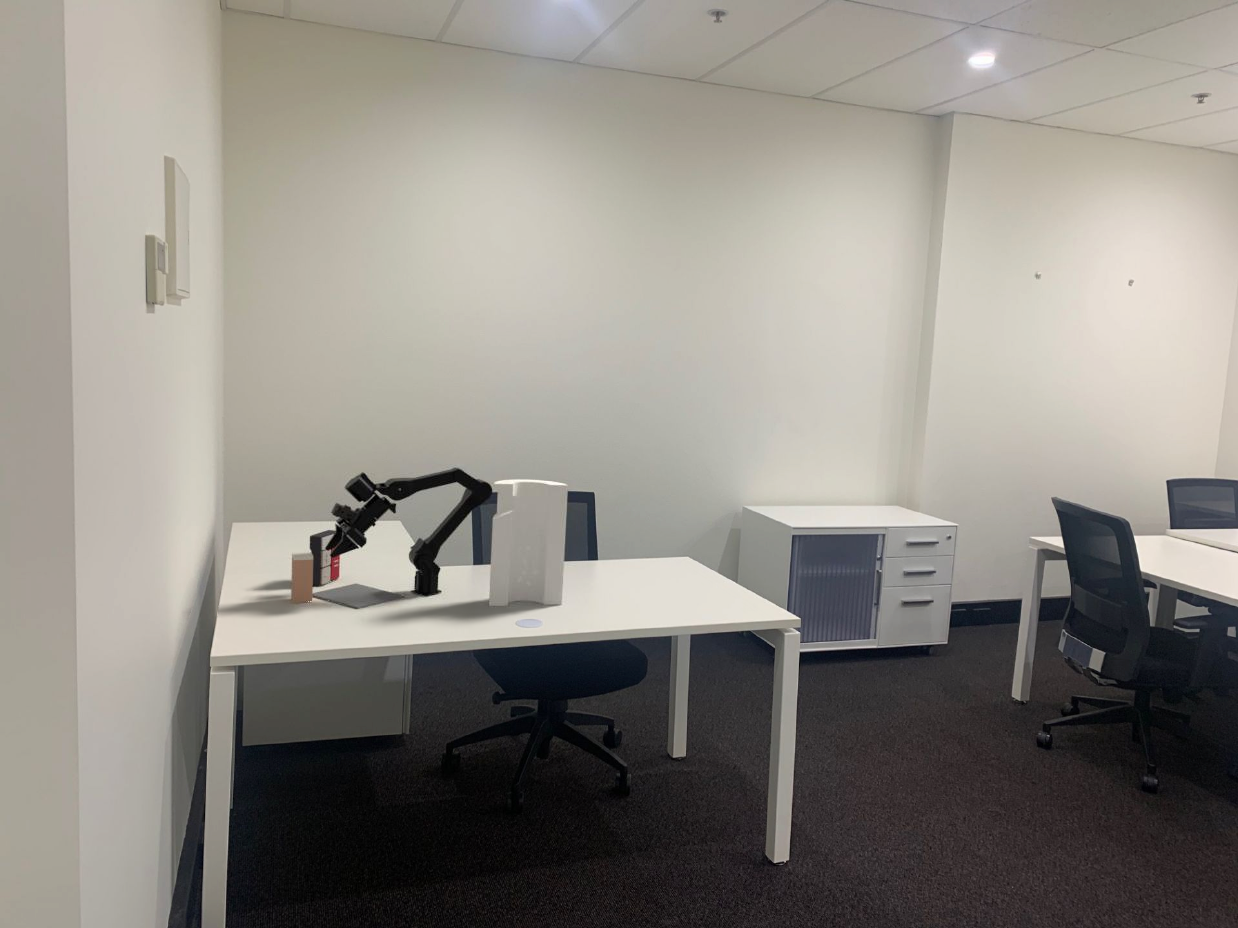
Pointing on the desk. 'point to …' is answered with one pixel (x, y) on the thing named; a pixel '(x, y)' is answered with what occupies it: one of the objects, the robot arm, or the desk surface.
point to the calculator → (323, 559)
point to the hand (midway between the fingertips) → (328, 553)
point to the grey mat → (357, 595)
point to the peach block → (302, 577)
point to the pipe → (528, 542)
